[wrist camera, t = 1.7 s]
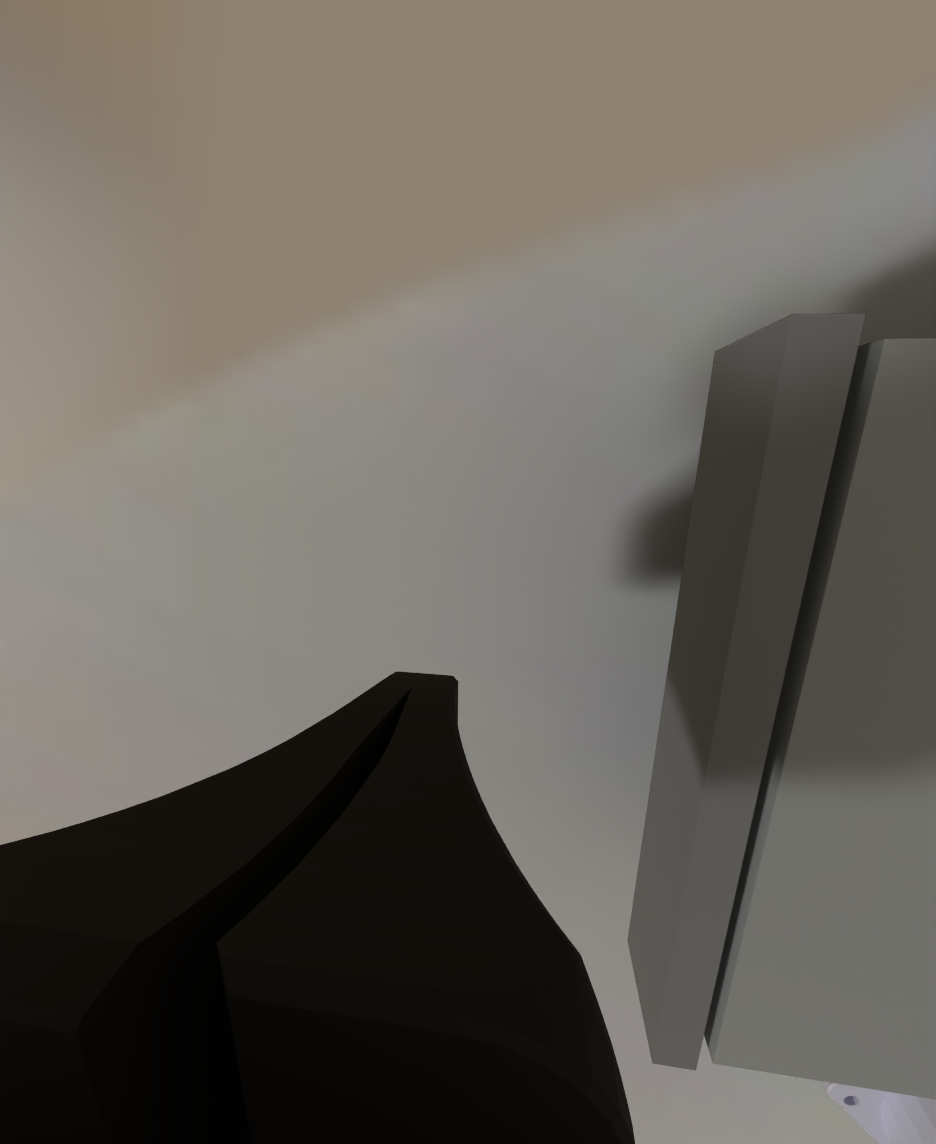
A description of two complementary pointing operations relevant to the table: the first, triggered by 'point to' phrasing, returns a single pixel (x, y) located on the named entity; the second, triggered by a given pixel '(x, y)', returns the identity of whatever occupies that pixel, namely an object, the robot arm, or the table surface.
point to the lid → (801, 723)
